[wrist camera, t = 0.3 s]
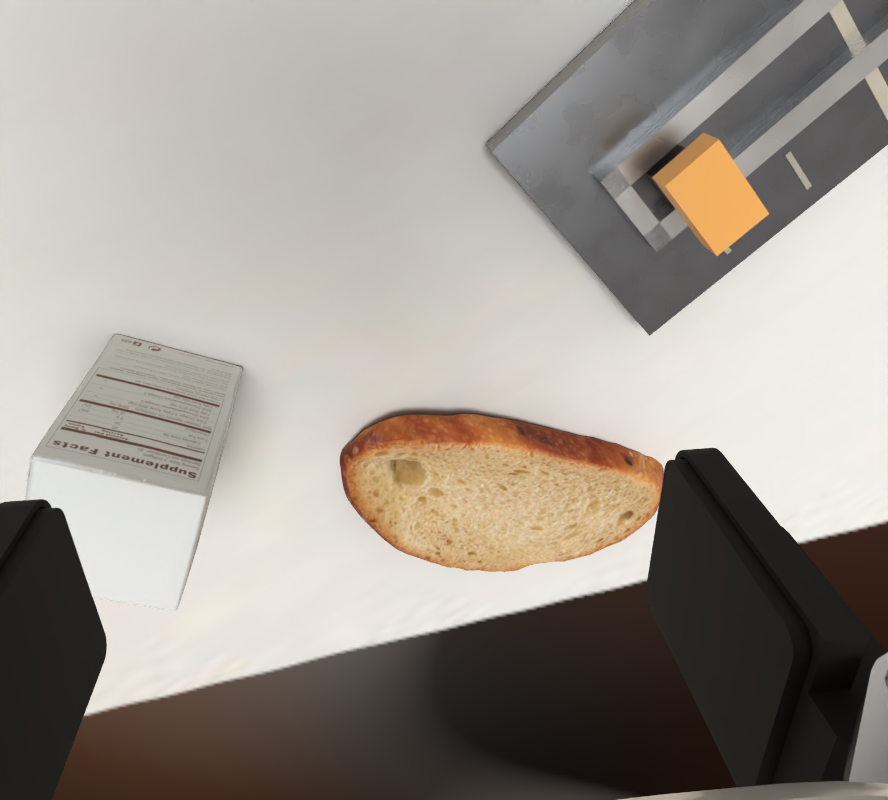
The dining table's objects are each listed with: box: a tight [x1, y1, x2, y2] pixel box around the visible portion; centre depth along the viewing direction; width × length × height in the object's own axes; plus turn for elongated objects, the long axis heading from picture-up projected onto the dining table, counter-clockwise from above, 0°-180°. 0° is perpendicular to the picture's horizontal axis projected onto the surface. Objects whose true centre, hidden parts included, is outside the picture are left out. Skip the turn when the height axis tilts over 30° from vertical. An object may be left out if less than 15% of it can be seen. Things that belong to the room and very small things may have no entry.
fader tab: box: [646, 133, 769, 256], centre depth 34 cm, size 3×4×6 cm, turn 43°
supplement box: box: [25, 334, 243, 611], centre depth 37 cm, size 7×7×13 cm
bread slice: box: [340, 414, 664, 572], centre depth 47 cm, size 18×18×4 cm
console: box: [486, 0, 888, 336], centre depth 35 cm, size 26×14×3 cm, turn 133°
